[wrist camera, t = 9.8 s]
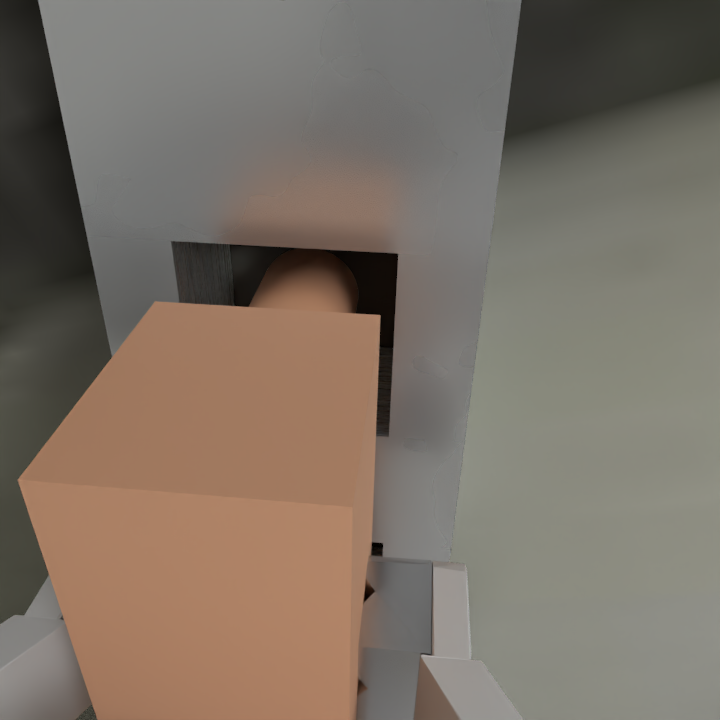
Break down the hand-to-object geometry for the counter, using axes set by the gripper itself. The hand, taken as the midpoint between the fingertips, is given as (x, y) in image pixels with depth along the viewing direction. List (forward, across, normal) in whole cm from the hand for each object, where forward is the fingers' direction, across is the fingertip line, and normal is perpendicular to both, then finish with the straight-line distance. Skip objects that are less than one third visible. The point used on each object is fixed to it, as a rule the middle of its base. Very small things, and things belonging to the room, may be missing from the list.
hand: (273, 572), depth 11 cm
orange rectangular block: (+4, 0, 0) cm, 4 cm away
